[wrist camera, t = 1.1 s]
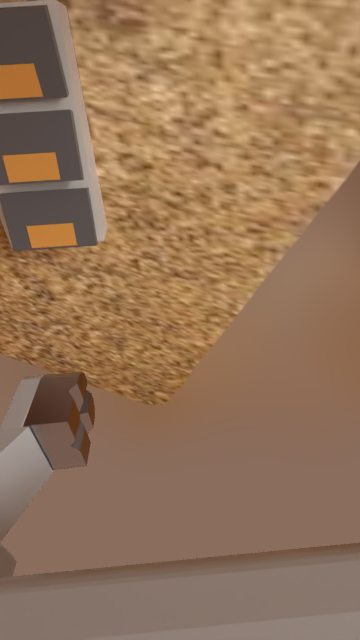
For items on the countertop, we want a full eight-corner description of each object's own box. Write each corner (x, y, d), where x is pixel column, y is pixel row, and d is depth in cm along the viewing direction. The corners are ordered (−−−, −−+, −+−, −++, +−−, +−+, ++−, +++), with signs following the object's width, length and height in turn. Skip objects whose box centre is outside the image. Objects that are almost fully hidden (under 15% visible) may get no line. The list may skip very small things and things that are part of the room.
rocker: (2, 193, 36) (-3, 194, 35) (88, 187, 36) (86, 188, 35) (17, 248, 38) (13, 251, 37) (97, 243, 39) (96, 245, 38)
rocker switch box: (-57, 13, 30) (-81, 7, 27) (65, 6, 30) (55, -1, 27) (21, 233, 43) (11, 247, 40) (107, 227, 43) (103, 240, 40)
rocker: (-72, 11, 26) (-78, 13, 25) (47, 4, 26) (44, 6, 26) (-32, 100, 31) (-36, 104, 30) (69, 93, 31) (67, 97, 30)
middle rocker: (-26, 117, 32) (-32, 115, 31) (72, 110, 32) (69, 109, 31) (-7, 185, 34) (-12, 186, 33) (84, 179, 34) (81, 180, 33)
